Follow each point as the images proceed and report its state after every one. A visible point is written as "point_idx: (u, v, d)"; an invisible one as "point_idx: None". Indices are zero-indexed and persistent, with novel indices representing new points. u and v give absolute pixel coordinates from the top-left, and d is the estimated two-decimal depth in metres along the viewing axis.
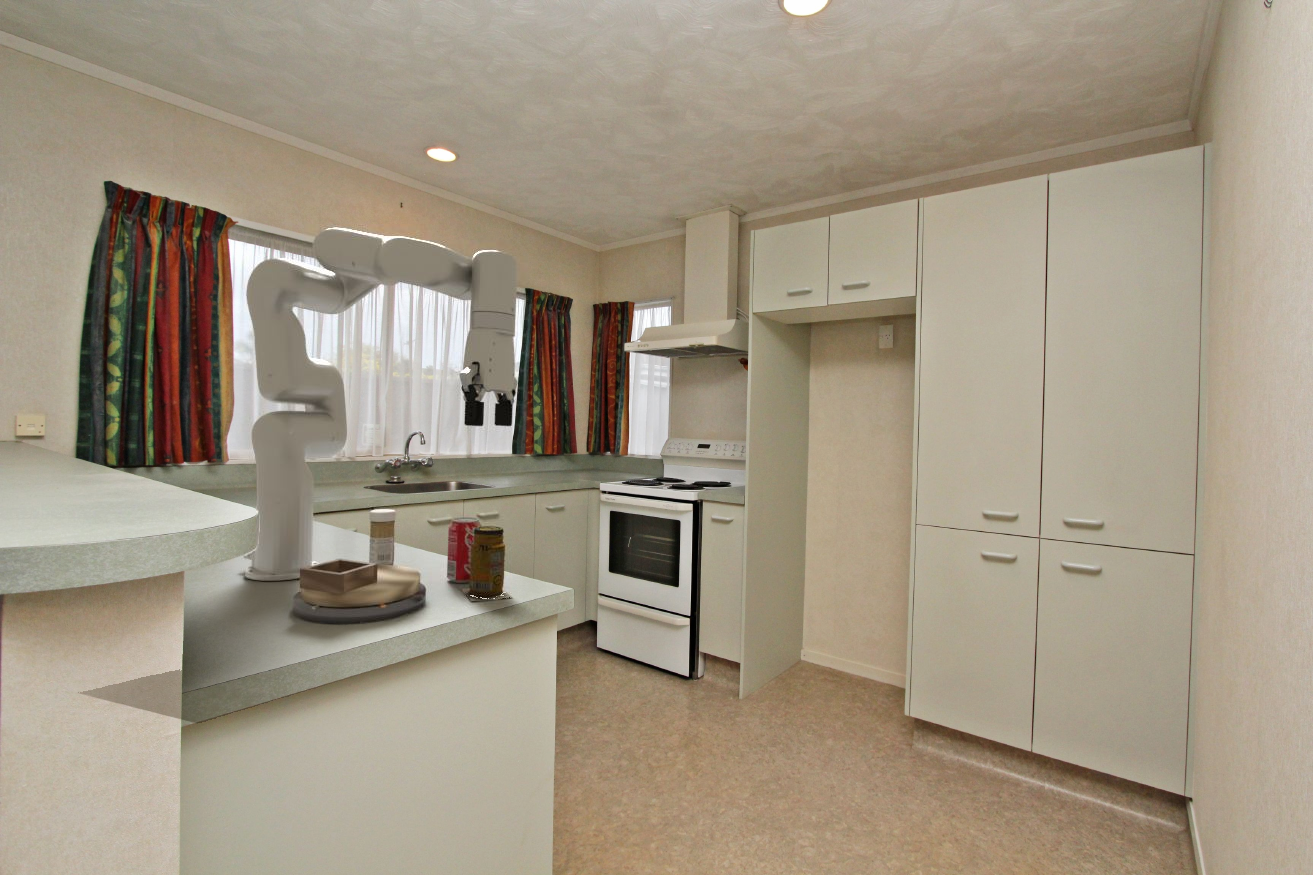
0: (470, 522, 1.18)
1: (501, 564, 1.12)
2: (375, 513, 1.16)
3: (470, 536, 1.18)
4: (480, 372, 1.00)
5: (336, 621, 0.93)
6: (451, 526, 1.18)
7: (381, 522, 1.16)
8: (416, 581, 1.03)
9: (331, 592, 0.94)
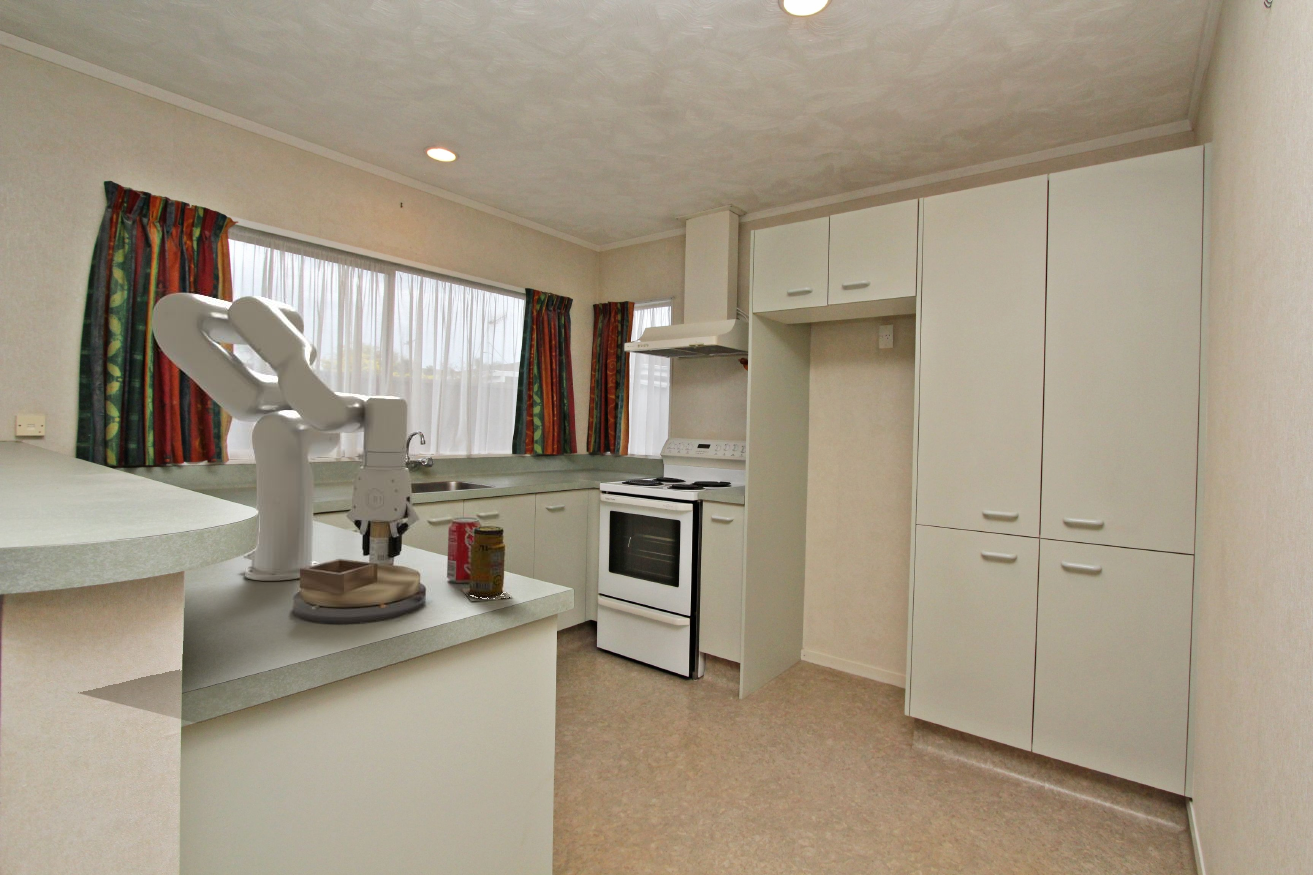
0: (470, 522, 1.18)
1: (501, 564, 1.12)
2: None
3: (470, 536, 1.18)
4: (410, 504, 1.18)
5: (336, 621, 0.93)
6: (451, 526, 1.18)
7: (381, 522, 1.16)
8: (416, 581, 1.03)
9: (331, 592, 0.94)
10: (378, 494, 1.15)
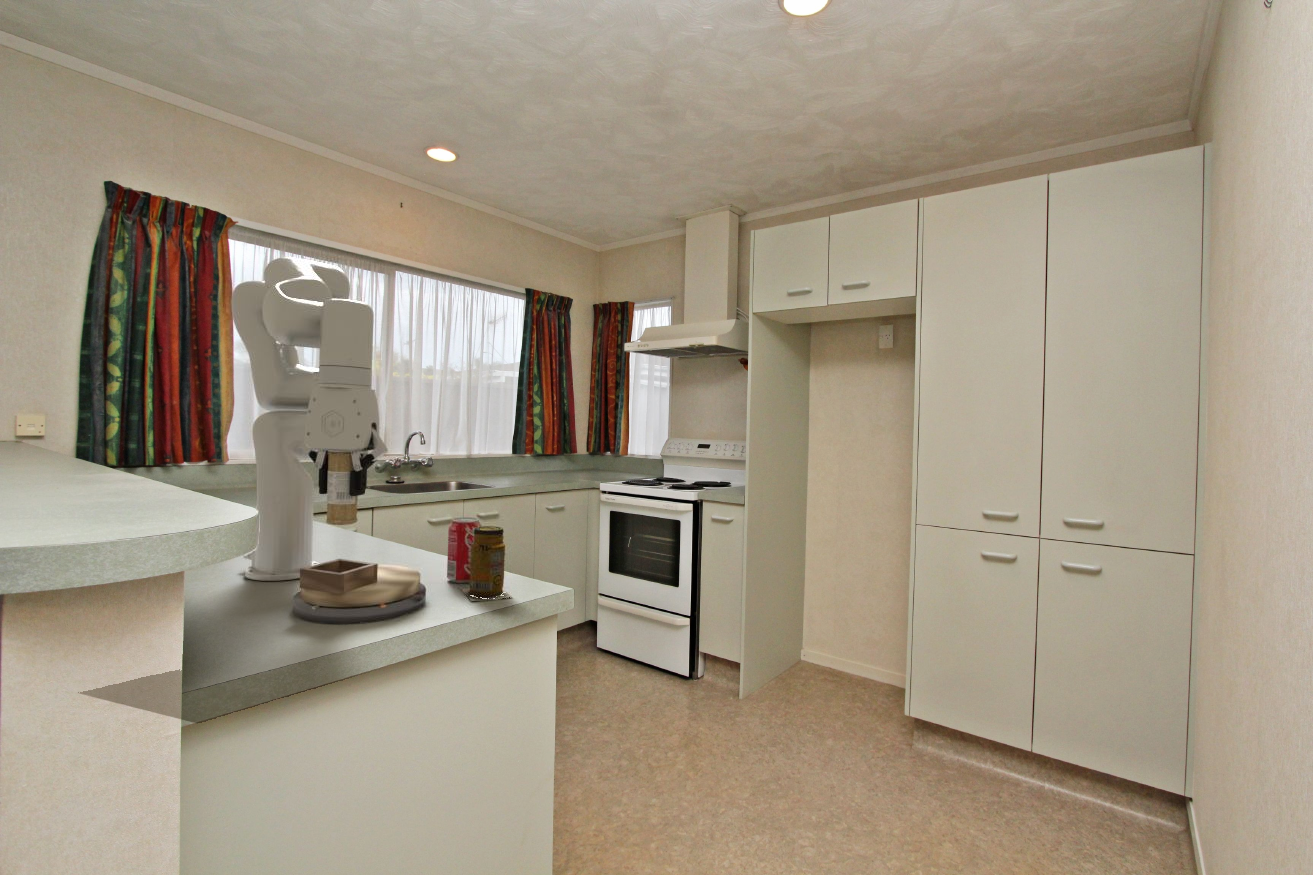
0: (470, 522, 1.18)
1: (501, 564, 1.12)
2: None
3: (470, 536, 1.18)
4: (377, 433, 0.98)
5: (336, 621, 0.93)
6: (451, 526, 1.18)
7: (341, 452, 0.96)
8: (416, 581, 1.03)
9: (331, 592, 0.94)
10: (337, 418, 0.95)
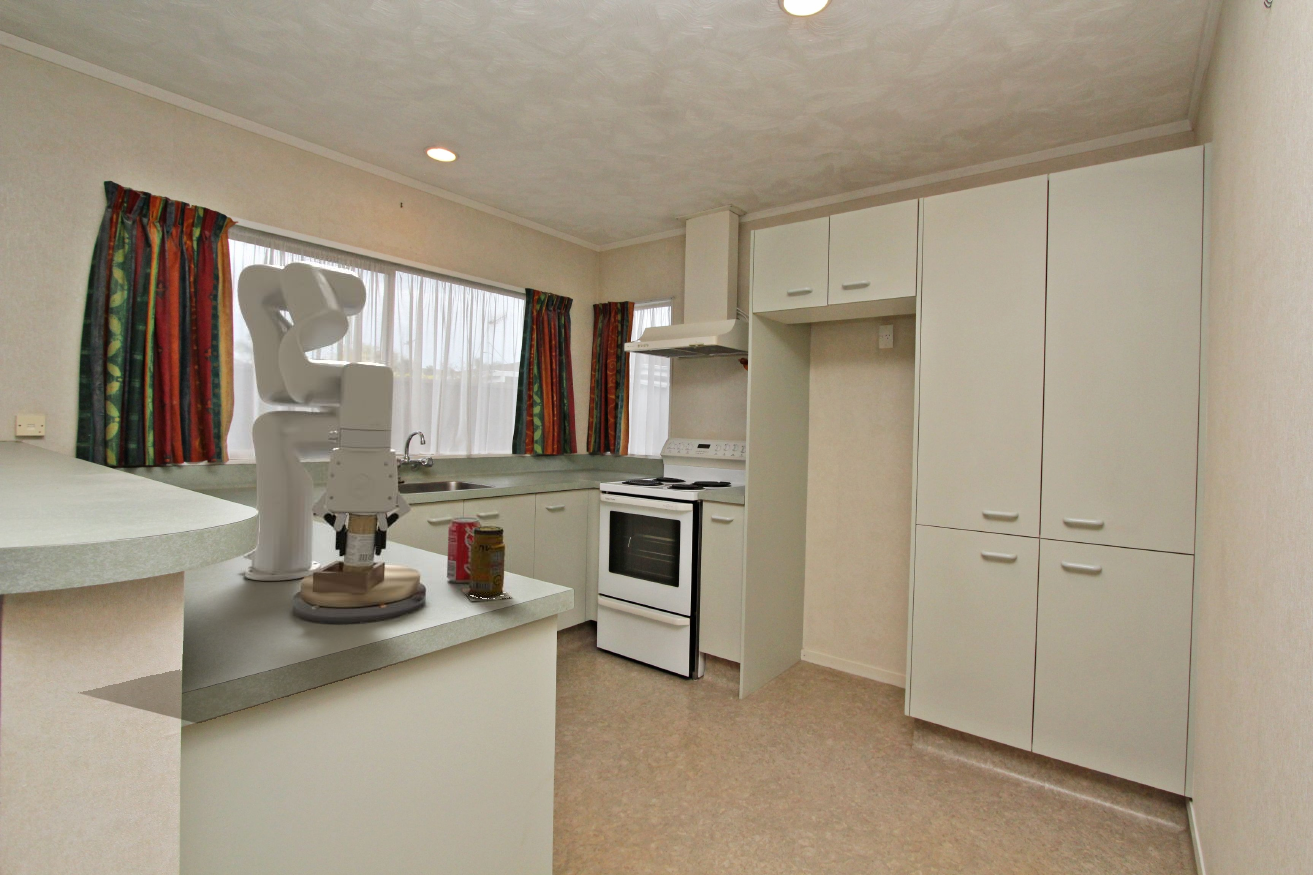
0: (470, 522, 1.18)
1: (501, 564, 1.12)
2: None
3: (470, 536, 1.18)
4: (398, 492, 1.01)
5: (336, 621, 0.93)
6: (451, 526, 1.18)
7: (367, 515, 0.96)
8: None
9: (354, 592, 0.94)
10: (366, 481, 0.96)
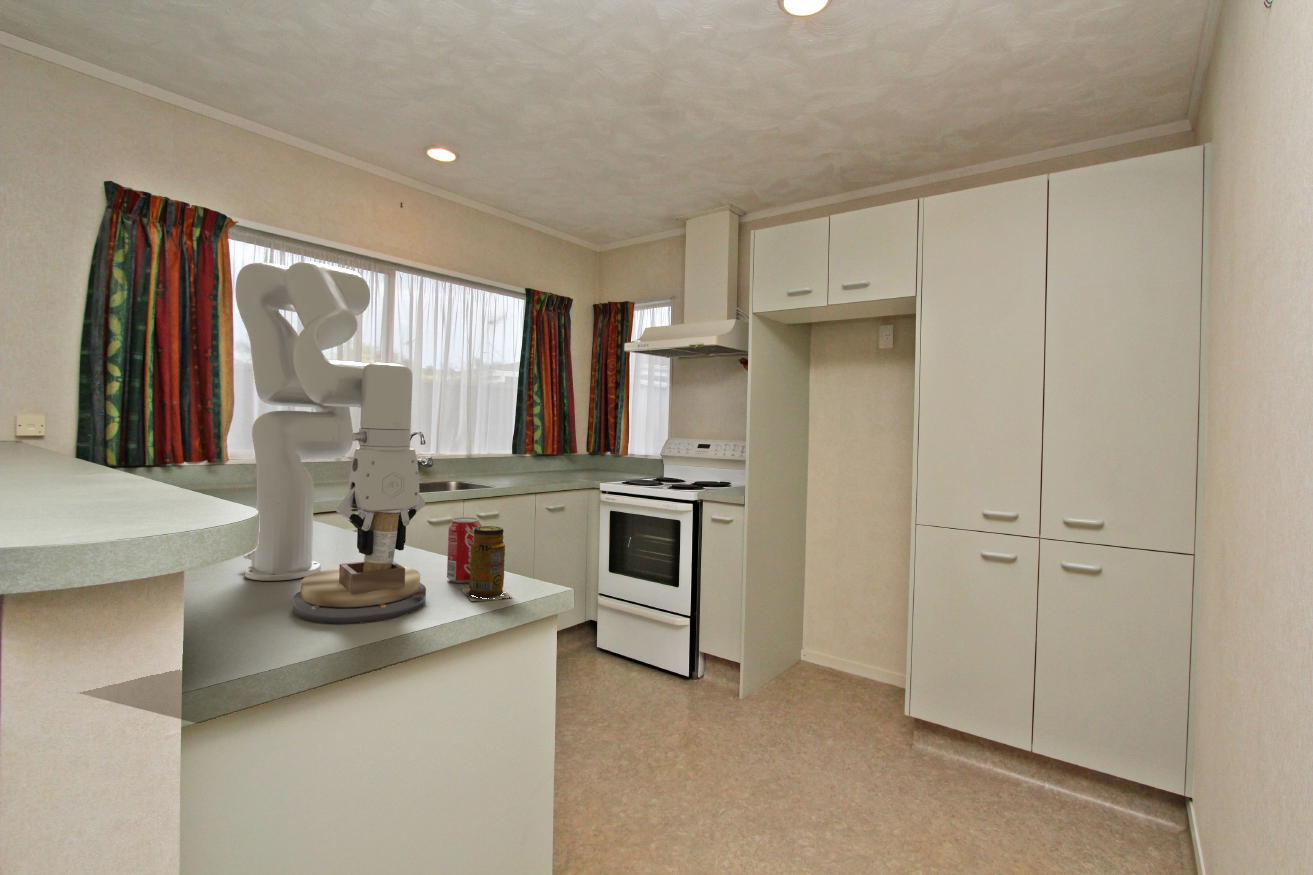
0: (470, 522, 1.18)
1: (501, 564, 1.12)
2: None
3: (470, 536, 1.18)
4: None
5: (336, 621, 0.93)
6: (451, 526, 1.18)
7: (396, 513, 1.00)
8: None
9: (393, 587, 0.98)
10: (396, 479, 0.99)
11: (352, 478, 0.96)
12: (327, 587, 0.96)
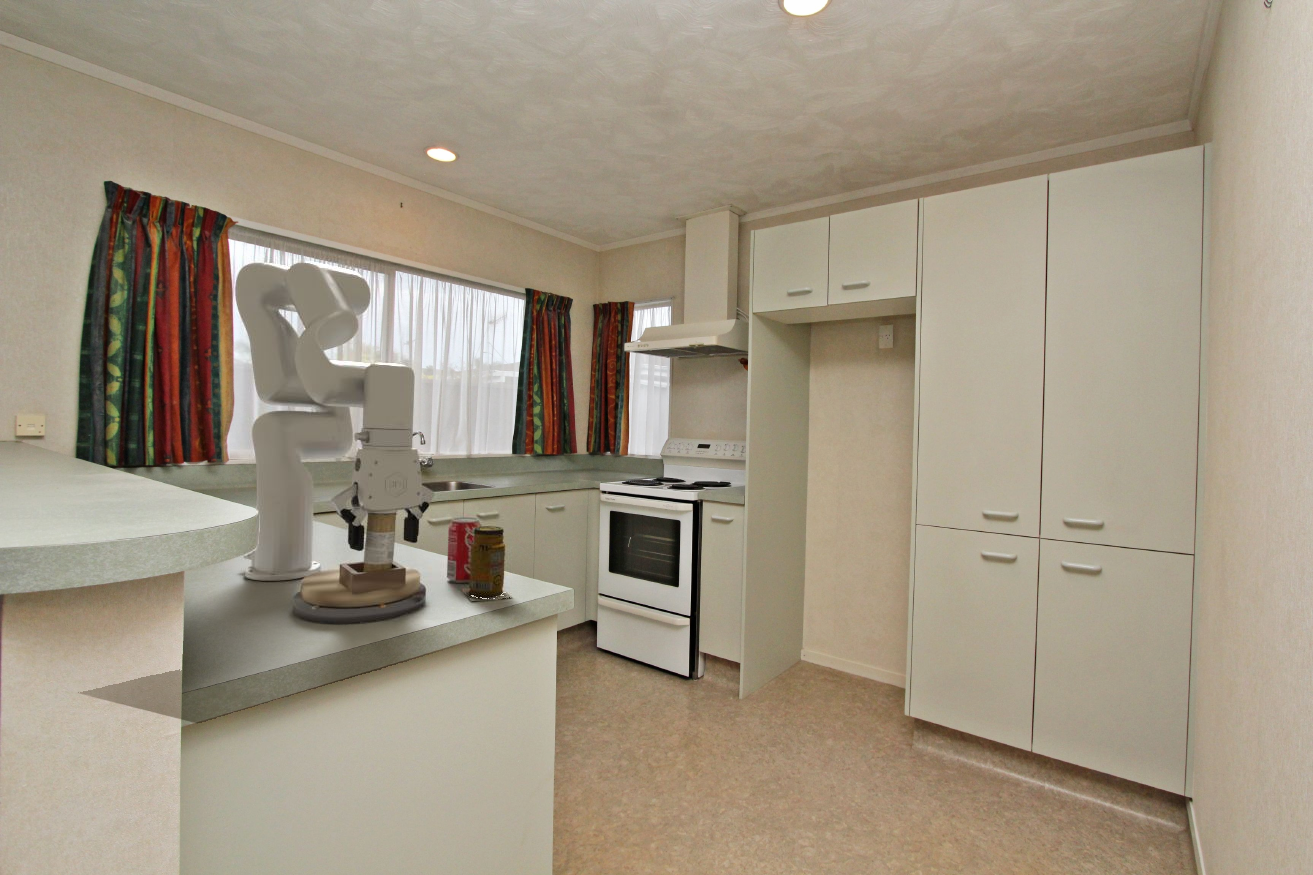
0: (470, 522, 1.18)
1: (501, 564, 1.12)
2: None
3: (470, 536, 1.18)
4: None
5: (336, 621, 0.93)
6: (451, 526, 1.18)
7: (393, 513, 0.99)
8: None
9: (394, 587, 0.98)
10: (399, 478, 0.99)
11: (354, 478, 0.96)
12: (327, 587, 0.96)
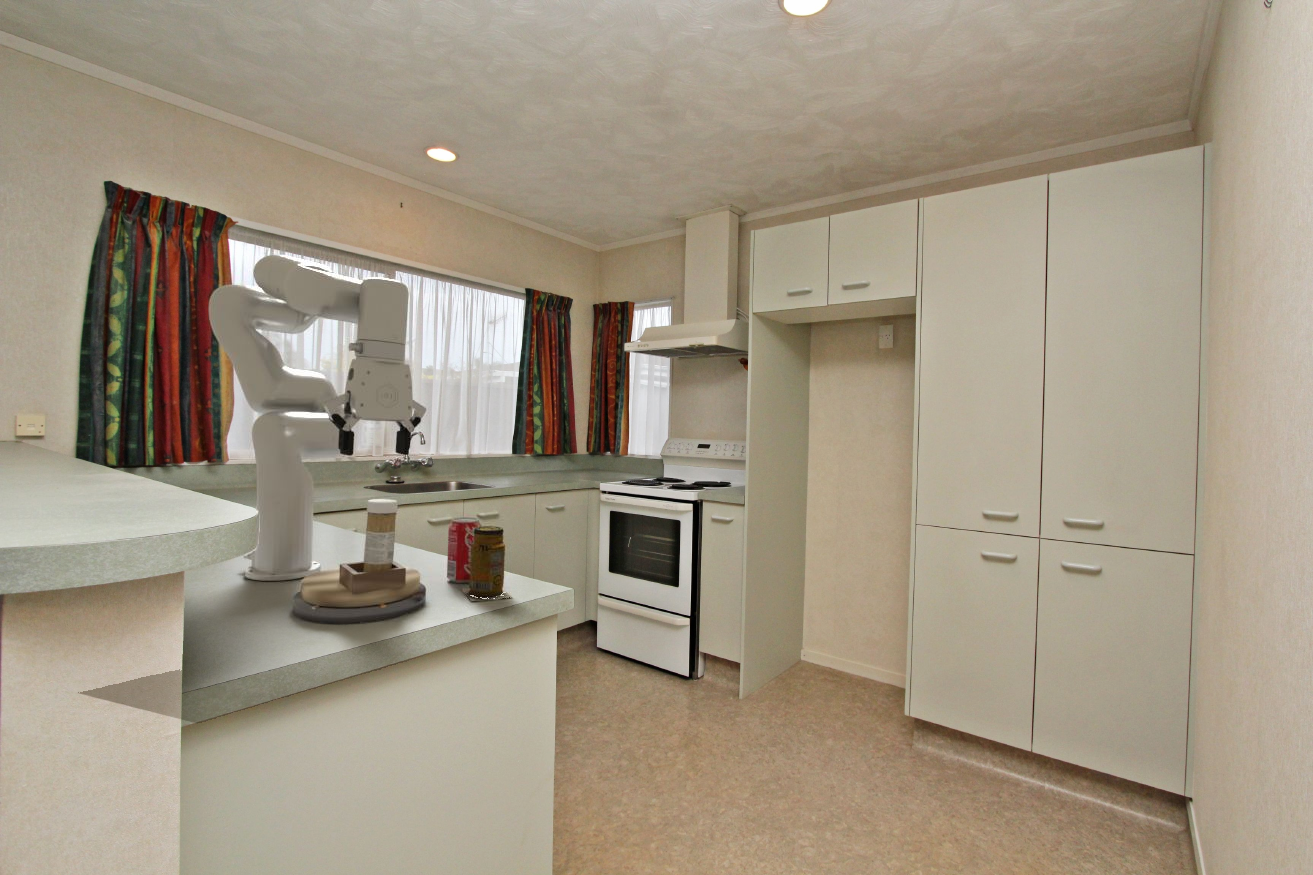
0: (470, 522, 1.18)
1: (501, 564, 1.12)
2: (388, 503, 0.98)
3: (470, 536, 1.18)
4: None
5: (336, 621, 0.93)
6: (451, 526, 1.18)
7: (393, 513, 0.99)
8: None
9: (394, 587, 0.98)
10: (390, 391, 1.03)
11: (348, 387, 1.00)
12: (327, 587, 0.96)
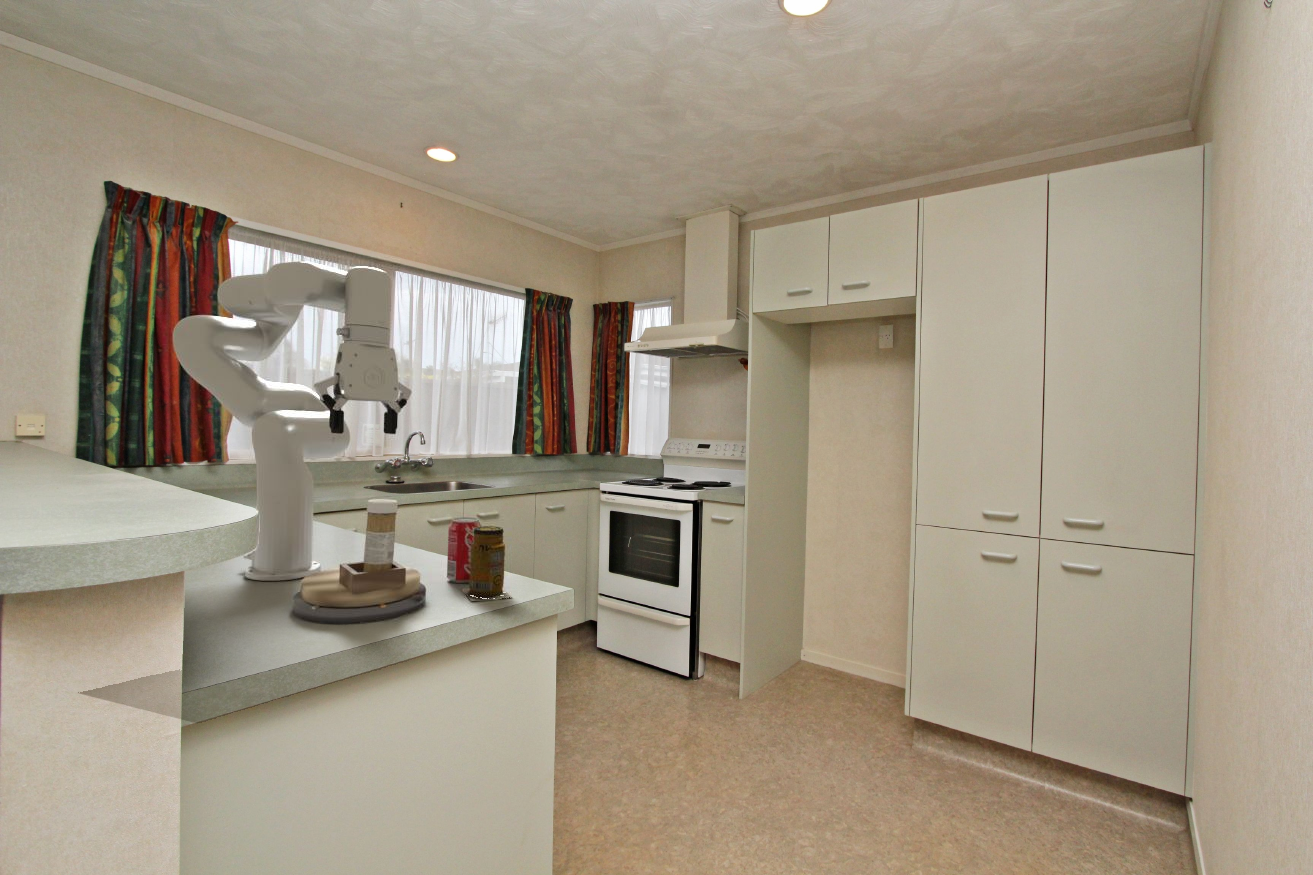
0: (470, 522, 1.18)
1: (501, 564, 1.12)
2: (388, 503, 0.98)
3: (470, 536, 1.18)
4: None
5: (336, 621, 0.93)
6: (451, 526, 1.18)
7: (393, 513, 0.99)
8: None
9: (394, 587, 0.98)
10: (377, 372, 1.09)
11: (336, 369, 1.07)
12: (327, 587, 0.96)
